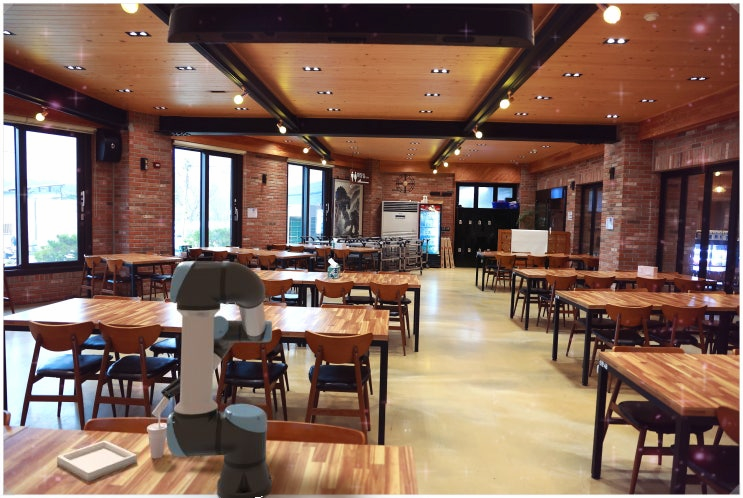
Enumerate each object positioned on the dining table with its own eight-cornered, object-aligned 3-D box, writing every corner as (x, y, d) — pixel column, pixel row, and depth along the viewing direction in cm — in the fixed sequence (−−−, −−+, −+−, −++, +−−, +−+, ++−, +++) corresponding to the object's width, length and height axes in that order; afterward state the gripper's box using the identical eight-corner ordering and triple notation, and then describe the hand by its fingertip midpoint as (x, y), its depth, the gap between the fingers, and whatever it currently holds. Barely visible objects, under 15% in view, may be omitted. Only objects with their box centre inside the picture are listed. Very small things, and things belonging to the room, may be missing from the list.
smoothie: (160, 461, 161) (160, 417, 161) (142, 459, 162) (142, 415, 162) (172, 452, 167) (172, 410, 167) (154, 450, 169) (155, 408, 168)
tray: (136, 462, 160) (136, 454, 160) (88, 481, 148) (88, 473, 147) (105, 447, 170) (105, 440, 170) (57, 463, 157) (57, 456, 157)
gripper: (235, 378, 176) (198, 435, 164) (189, 365, 189) (151, 417, 178) (223, 366, 171) (184, 423, 159) (176, 353, 185) (137, 406, 173)
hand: (167, 420), depth 168 cm, fingers open, 13 cm apart
